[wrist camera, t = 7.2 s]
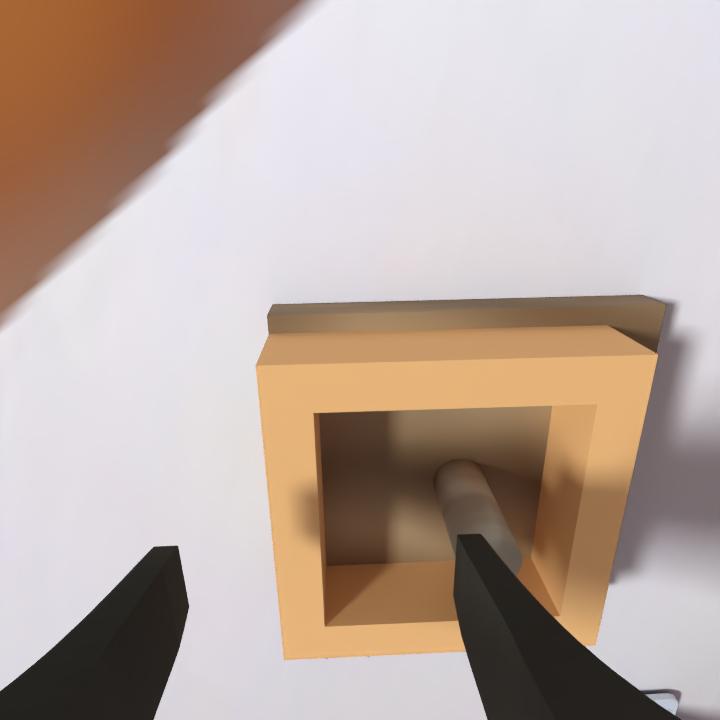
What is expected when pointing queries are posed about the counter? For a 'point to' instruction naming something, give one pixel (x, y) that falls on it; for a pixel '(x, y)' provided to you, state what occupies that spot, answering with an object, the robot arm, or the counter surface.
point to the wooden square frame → (449, 391)
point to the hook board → (443, 436)
